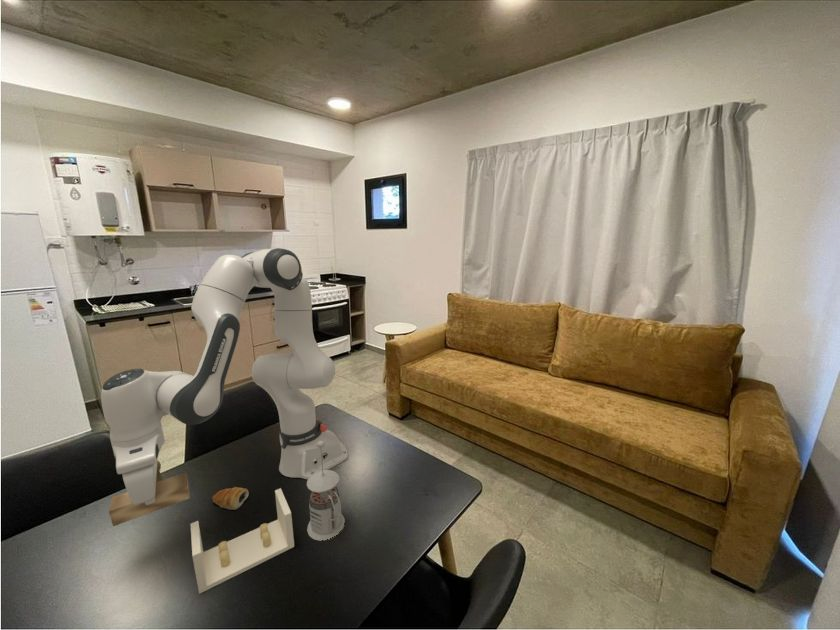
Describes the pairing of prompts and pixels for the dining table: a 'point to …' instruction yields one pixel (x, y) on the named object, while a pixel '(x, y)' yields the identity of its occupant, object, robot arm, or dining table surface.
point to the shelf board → (165, 496)
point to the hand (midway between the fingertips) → (151, 493)
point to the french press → (324, 504)
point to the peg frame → (242, 548)
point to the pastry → (230, 497)
